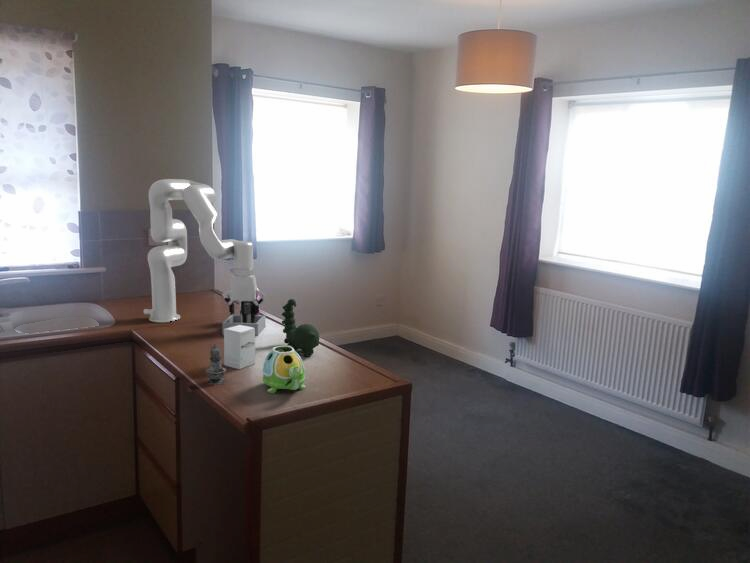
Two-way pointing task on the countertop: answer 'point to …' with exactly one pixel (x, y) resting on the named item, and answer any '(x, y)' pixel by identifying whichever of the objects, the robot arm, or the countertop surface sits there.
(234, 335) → the supplement box
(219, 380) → the grey tower figurine
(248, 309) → the beverage can
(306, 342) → the toy figurine
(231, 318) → the tray
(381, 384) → the countertop surface
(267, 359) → the turtle holder
